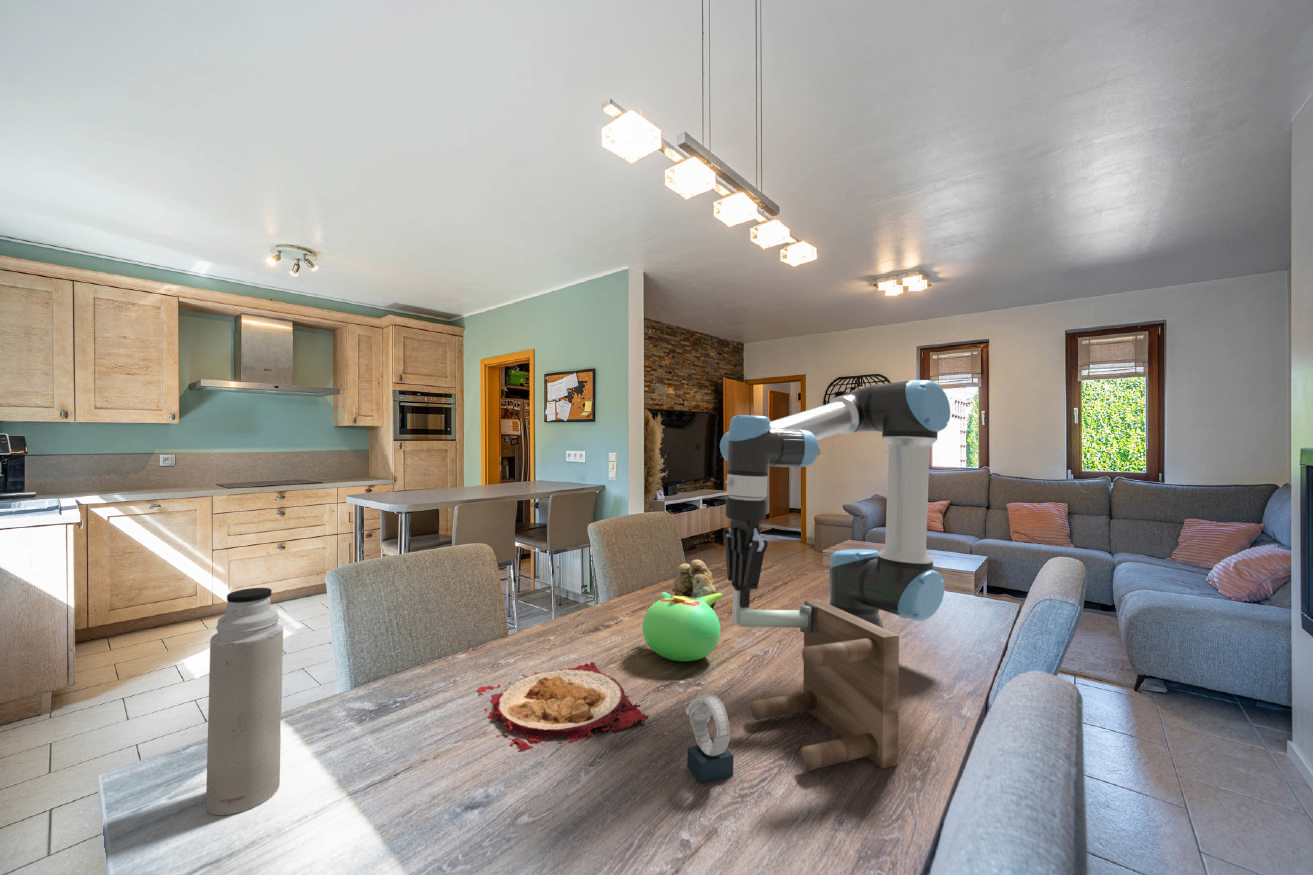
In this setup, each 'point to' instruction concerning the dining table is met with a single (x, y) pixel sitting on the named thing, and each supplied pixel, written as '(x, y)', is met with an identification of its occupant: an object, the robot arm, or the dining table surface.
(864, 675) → the stool
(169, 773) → the dining table surface
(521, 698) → the plate with food
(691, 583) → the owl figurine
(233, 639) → the thermos bottle
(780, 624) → the hinged leg
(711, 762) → the watch
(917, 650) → the dining table surface
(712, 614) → the toy bird
